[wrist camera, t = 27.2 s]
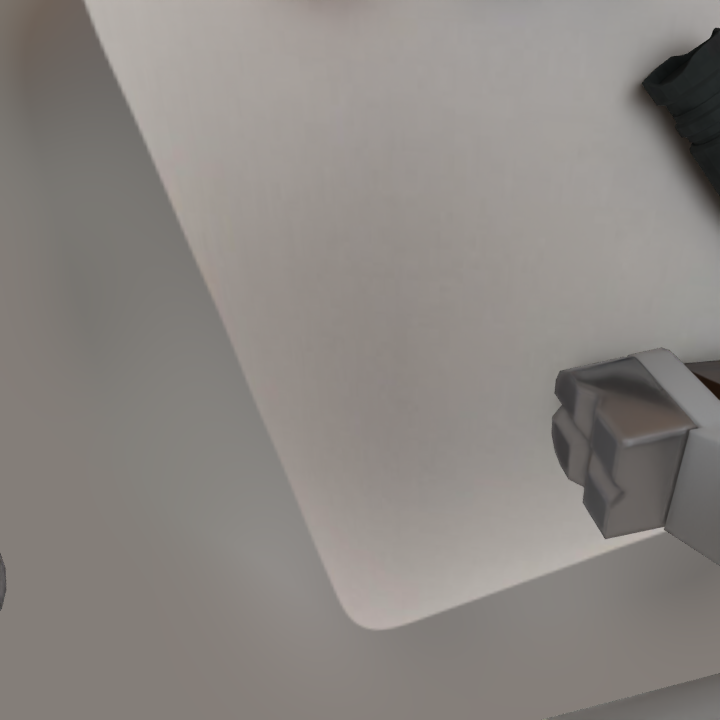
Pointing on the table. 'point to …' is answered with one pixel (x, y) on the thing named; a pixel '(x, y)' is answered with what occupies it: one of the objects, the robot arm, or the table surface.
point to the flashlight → (694, 101)
